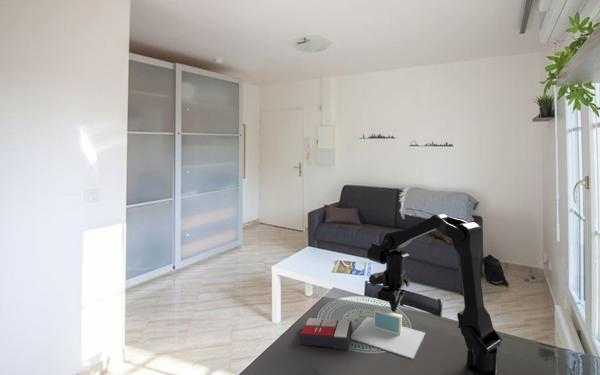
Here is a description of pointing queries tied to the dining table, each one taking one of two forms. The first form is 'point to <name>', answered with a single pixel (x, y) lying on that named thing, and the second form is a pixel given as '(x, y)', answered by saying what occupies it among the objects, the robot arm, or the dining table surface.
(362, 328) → the mat
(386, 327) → the block
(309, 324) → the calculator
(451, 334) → the dining table surface
